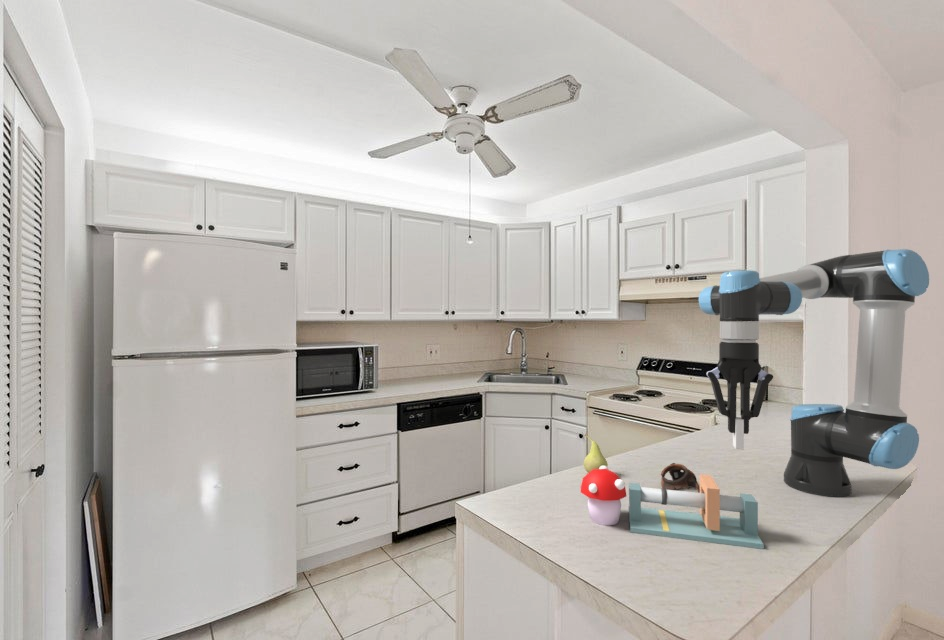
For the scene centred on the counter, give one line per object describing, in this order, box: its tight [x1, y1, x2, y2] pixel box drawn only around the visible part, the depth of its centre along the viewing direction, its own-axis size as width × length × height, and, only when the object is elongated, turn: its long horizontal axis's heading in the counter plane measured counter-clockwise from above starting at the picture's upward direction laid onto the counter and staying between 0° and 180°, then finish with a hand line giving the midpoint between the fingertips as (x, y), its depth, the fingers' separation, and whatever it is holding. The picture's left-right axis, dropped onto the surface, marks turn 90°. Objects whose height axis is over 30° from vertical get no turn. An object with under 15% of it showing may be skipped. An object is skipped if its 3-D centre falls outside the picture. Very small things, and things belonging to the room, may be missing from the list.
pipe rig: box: [628, 482, 764, 550], centre depth 103 cm, size 26×12×8 cm, turn 73°
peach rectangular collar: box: [699, 473, 721, 531], centre depth 102 cm, size 2×9×9 cm, turn 163°
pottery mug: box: [660, 462, 700, 493], centre depth 126 cm, size 12×10×8 cm
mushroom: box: [580, 466, 627, 527], centre depth 108 cm, size 11×11×12 cm
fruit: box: [583, 433, 609, 474], centre depth 137 cm, size 7×8×12 cm
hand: (738, 447), depth 100 cm, fingers closed
